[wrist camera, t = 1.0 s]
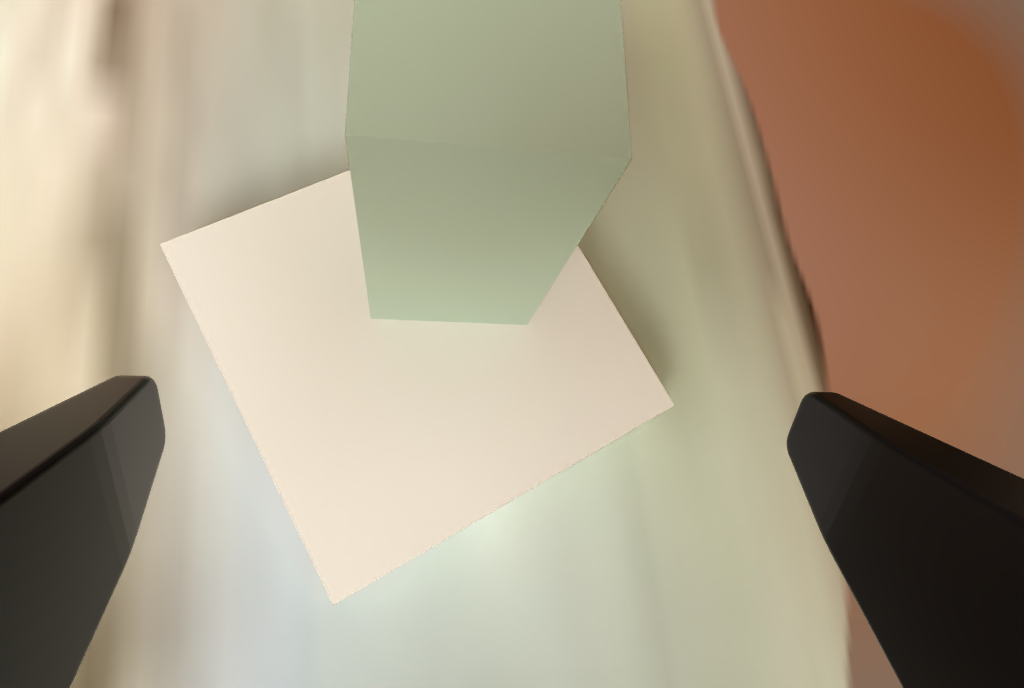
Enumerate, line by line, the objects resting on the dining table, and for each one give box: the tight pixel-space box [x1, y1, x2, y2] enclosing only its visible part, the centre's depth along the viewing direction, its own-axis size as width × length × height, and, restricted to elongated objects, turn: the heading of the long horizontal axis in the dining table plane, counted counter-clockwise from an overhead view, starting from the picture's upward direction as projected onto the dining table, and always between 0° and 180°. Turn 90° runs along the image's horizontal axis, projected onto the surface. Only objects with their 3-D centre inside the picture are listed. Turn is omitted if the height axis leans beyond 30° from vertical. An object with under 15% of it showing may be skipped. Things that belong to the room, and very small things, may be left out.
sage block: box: [345, 0, 632, 325], centre depth 17 cm, size 5×5×10 cm
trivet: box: [160, 170, 674, 605], centre depth 21 cm, size 12×12×2 cm
